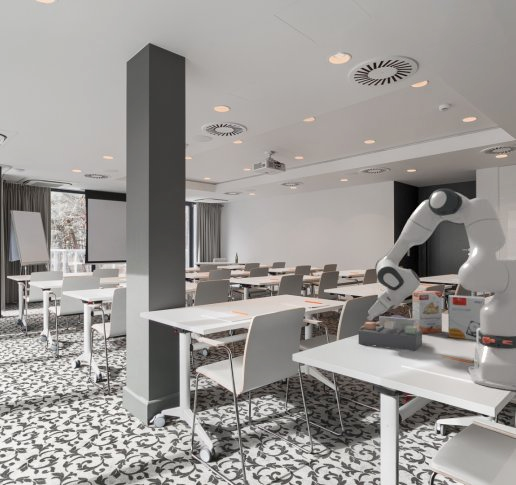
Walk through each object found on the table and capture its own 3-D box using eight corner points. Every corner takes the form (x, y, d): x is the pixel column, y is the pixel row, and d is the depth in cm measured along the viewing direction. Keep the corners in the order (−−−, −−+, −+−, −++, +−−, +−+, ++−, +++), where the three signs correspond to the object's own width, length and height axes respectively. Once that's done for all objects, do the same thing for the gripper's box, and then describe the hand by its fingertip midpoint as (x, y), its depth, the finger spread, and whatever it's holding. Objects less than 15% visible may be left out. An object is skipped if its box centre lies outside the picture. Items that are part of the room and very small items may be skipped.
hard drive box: (448, 337, 185) (447, 296, 186) (448, 334, 192) (448, 294, 193) (485, 341, 178) (484, 298, 179) (484, 337, 185) (483, 296, 185)
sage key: (414, 334, 166) (414, 328, 166) (405, 333, 168) (405, 327, 168) (416, 332, 169) (416, 326, 170) (407, 331, 172) (407, 325, 172)
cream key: (393, 328, 171) (393, 323, 171) (384, 327, 173) (384, 322, 173) (395, 327, 174) (395, 321, 174) (386, 326, 176) (386, 320, 177)
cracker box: (419, 334, 194) (419, 292, 194) (412, 331, 199) (411, 291, 200) (443, 332, 197) (442, 291, 198) (434, 329, 203) (434, 290, 203)
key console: (416, 351, 161) (415, 327, 161) (358, 343, 174) (358, 321, 174) (424, 341, 177) (424, 320, 177) (371, 335, 191) (370, 315, 191)
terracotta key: (373, 329, 175) (373, 324, 175) (364, 328, 178) (364, 323, 178) (375, 327, 179) (375, 322, 179) (367, 326, 181) (367, 321, 181)
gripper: (390, 292, 183) (370, 311, 188) (379, 296, 166) (357, 316, 171) (400, 302, 181) (380, 321, 186) (389, 307, 164) (367, 327, 169)
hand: (369, 319), depth 178 cm, fingers closed
